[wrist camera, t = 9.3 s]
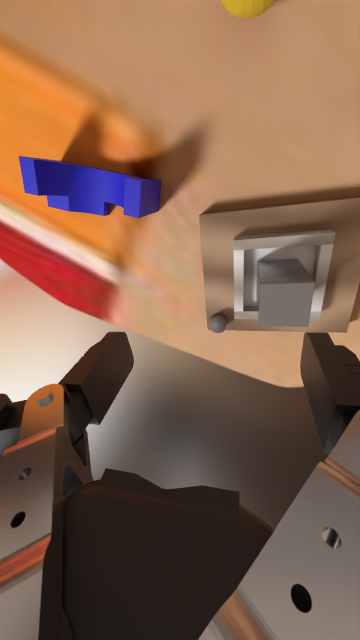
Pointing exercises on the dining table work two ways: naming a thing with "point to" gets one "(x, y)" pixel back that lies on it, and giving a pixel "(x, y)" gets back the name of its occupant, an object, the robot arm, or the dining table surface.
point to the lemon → (246, 7)
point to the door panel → (282, 243)
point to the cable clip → (89, 188)
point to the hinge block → (283, 293)
